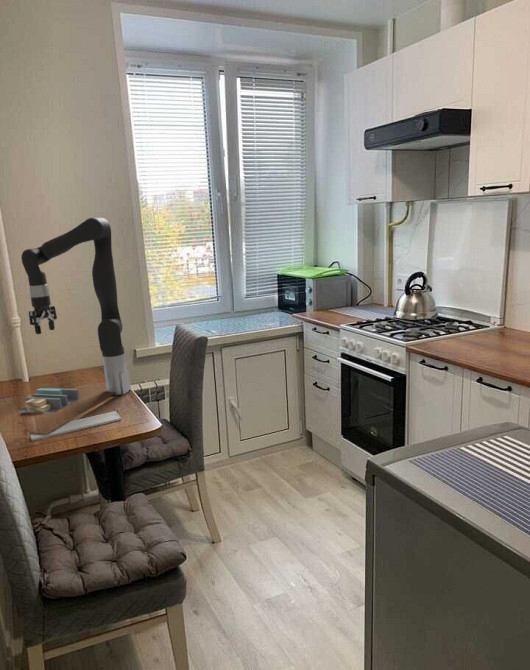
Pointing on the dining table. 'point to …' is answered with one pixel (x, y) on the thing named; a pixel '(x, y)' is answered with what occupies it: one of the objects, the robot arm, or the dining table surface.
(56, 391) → the teal slat
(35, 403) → the offcut top
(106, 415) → the baseboard molding
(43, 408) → the block
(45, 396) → the rack
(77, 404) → the dining table surface
